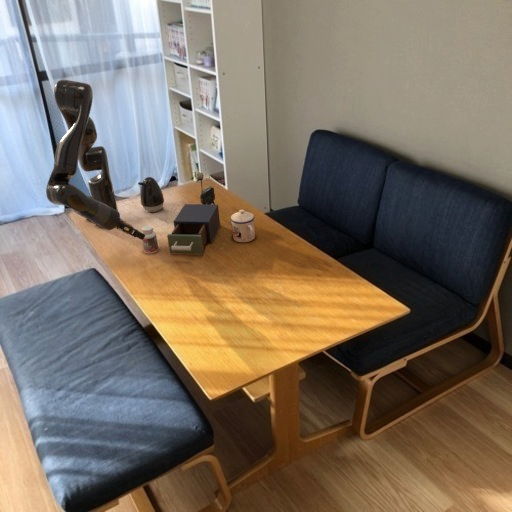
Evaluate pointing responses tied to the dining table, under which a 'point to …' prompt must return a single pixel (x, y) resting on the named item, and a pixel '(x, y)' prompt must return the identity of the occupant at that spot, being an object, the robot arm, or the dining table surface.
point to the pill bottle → (149, 240)
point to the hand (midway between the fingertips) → (137, 233)
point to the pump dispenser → (151, 195)
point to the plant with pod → (206, 192)
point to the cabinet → (200, 217)
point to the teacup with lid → (243, 226)
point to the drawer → (188, 238)
